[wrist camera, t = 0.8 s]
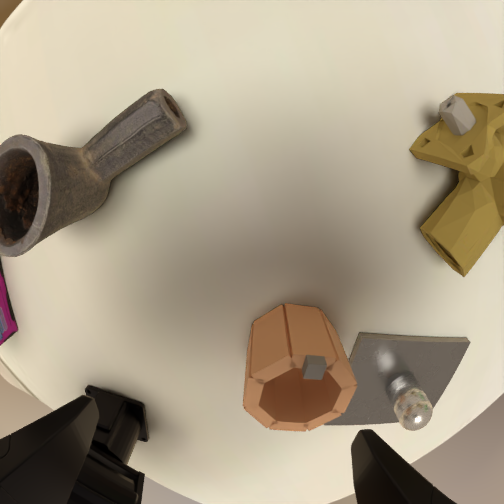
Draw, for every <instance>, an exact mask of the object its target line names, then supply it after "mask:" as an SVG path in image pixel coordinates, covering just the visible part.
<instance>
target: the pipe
mask: <svg viewBox="0 0 504 504" xmlns="http://www.w3.org/2000/svg"><path fill="white" fill-rule="evenodd" d="M186 128H187V123H186V120H185V118H184V117H183V114H182V112H181V111H180V109H179V107H178V105H177V104H176V102H175V100H174V99H173V98H172V96H171V95H170V94H168V93H167V92H166V91H165V90H164V89H156V90H153V91H150V92H148V93H147V94H145V95H144V96H143V97H141V98H140V99H139V100H137V101H136V102H135V103H133V104H132V105H131V106H129V107H128V108H127V109H125V110H124V111H123V112H122V113H120V114H119V115H118V116H116V117H115V118H114V119H113V120H112V121H111V122H109V123H108V124H107V125H106V126H105V127H104V128H103V129H102V130H101V131H100V132H99V133H97V134H96V135H95V136H94V137H93V138H92V139H91V140H90V141H89V142H88V143H87V144H86V145H85V146H84V147H83V148H74V147H67V146H61V145H56V144H51V143H46V142H43V141H39V140H37V139H34V138H32V137H30V136H26V135H15V136H12V137H10V138H8V139H7V140H5V141H4V142H3V143H2V144H1V145H0V255H2V256H8V257H17V256H20V255H22V254H24V253H26V252H27V251H29V250H30V249H31V248H32V247H34V246H35V245H36V244H37V243H39V242H40V241H42V240H44V239H45V238H47V237H48V236H50V235H52V234H53V233H55V232H56V231H58V230H60V229H62V228H64V227H66V226H68V225H70V224H72V223H74V222H76V221H78V220H81V219H83V218H85V217H87V216H88V215H90V214H92V213H93V212H94V211H96V210H97V209H98V208H99V207H100V206H101V205H102V204H103V202H104V201H105V199H106V197H107V195H108V191H109V186H110V181H111V180H112V179H113V178H114V177H115V176H117V175H118V174H120V173H121V172H122V171H124V170H126V169H127V168H129V167H130V166H132V165H133V164H135V163H137V162H138V161H139V160H141V159H142V158H144V157H145V156H147V155H148V154H150V153H151V152H153V151H154V150H155V149H157V148H158V147H160V146H161V145H163V144H164V143H166V142H167V141H169V140H170V139H172V138H174V137H175V136H177V135H178V134H180V133H181V132H182V131H183V130H185V129H186Z"/></svg>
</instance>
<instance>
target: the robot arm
mask: <svg viewBox="0 0 504 504" xmlns="http://www.w3.org/2000/svg"><path fill="white" fill-rule="evenodd" d="M85 392H86V395H82V396H80V397H78V398H76V399H75V400H73V401H71V402H69V403H67V404H66V405H64V406H62V407H60V408H58V409H57V410H55V411H53V412H51V413H49V414H47V415H46V416H44V417H42V418H40V419H38V420H36V421H35V422H33V423H31V424H29V425H27V426H25V427H23V428H21V429H19V430H18V431H16V432H14V433H12V434H11V435H8V436H6V437H4V438H2V439H0V504H141V500H142V491H143V483H144V476H145V474H144V473H142V472H140V471H139V472H138V471H136V470H135V469H133V468H131V467H129V466H127V464H128V461H129V459H130V456H131V454H132V451H133V449H134V446H135V444H136V441H137V440H140V441H144V442H147V441H148V439H149V436H148V429H147V422H146V415H145V407H144V405H143V404H142V403H140V402H137V401H134V400H130V399H127V398H124V397H121V396H117V395H114V394H111V393H108V392H105V391H102V390H99V389H96V388H94V387H91V386H87V387H86V388H85ZM351 455H352V468H353V481H354V489H355V494H356V498H357V504H457V503H455V502H454V501H452V500H451V499H449V498H448V497H447V496H446V495H444V494H443V493H442V492H441V491H439V490H438V489H437V488H436V487H434V486H433V485H432V484H431V483H430V482H429V481H428V480H427V479H425V478H424V477H423V476H422V475H421V474H420V473H419V472H417V471H416V470H415V469H414V468H413V467H412V466H411V465H410V464H409V463H408V462H406V461H405V460H404V459H403V458H402V457H401V456H400V455H399V454H398V453H397V452H395V451H394V450H393V449H392V448H391V447H390V446H389V445H388V444H387V443H386V442H385V441H384V440H382V439H381V438H380V437H379V436H378V435H377V434H376V433H375V432H374V431H373V430H371V429H364V430H360V431H359V432H358V434H357V435H356V437H355V439H354V441H353V443H352V445H351Z"/></svg>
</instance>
